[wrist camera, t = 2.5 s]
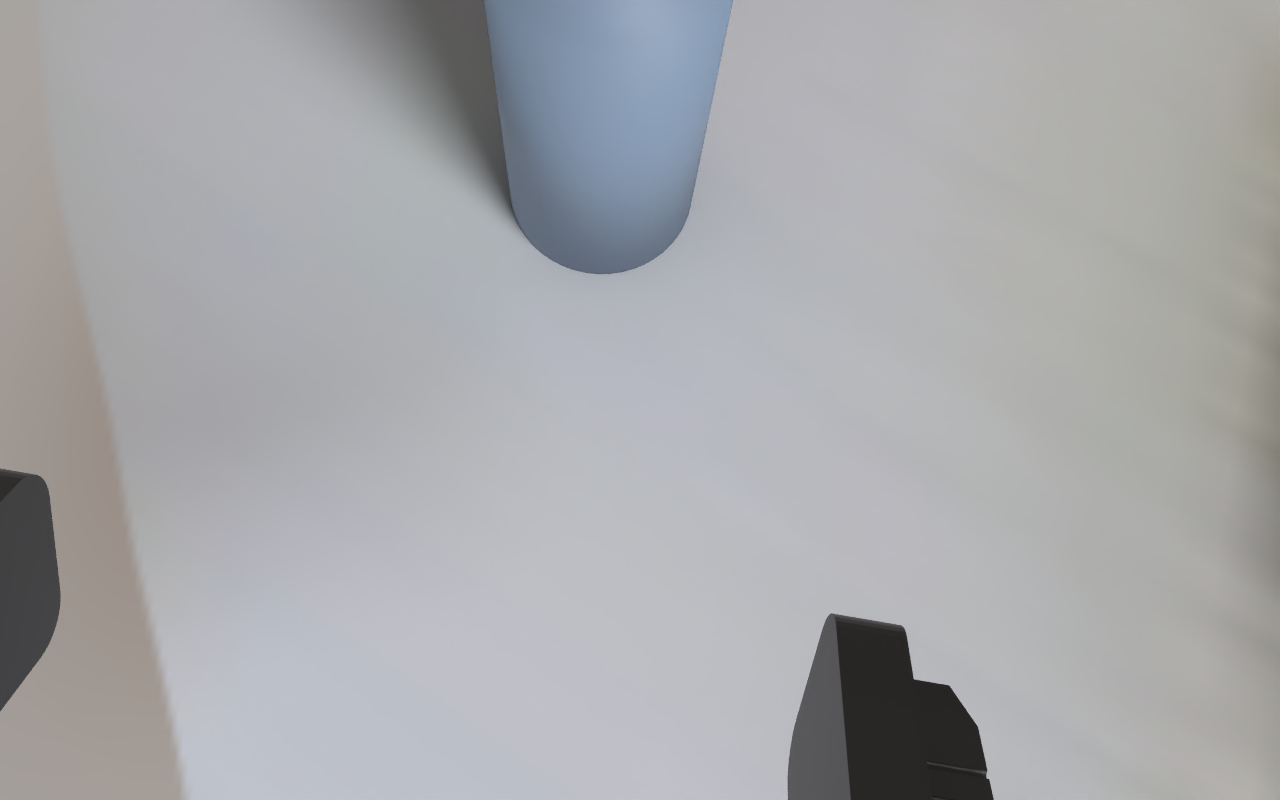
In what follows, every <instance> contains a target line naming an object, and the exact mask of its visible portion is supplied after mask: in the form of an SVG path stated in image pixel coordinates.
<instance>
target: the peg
mask: <svg viewBox="0 0 1280 800" xmlns="http://www.w3.org/2000/svg"><path fill="white" fill-rule="evenodd" d="M732 2H733V0H484V6H485V13H486V21H487V28H488V35H489V43H490V50H491V57H492V65H493V72H494V79H495V87H496V94H497V101H498V109H499V116H500V123H501V131H502V138H503V145H504V153H505V160H506V167H507V175H508V182H509V189H510V197H511V203H512V208H513V211H514V215H515V218H516V220H517V222H518V224H519V226H520V228H521V230H522V231H523V233H524V234H525V236H526V237H527V239H528V240H529V241H530V242H531V243H532V244H533V246H534V247H536V248H537V249H538V250H539V251H540V252H541V253H542V254H544V255H545V256H547V257H548V258H549V259H551V260H552V261H554V262H556V263H558V264H560V265H562V266H565V267H567V268H570V269H573V270H576V271H581V272H585V273H594V274H611V273H619V272H624V271H627V270H631V269H634V268H637V267H639V266H642V265H644V264H646V263H648V262H649V261H651V260H653V259H655V258H656V257H657V256H659V255H660V254H661V253H663V252H664V251H665V250H666V249H667V248H668V247H669V246H670V245H671V244H672V243H673V241H674V240H675V239H676V237H677V236H678V235H679V233H680V231H681V230H682V228H683V226H684V224H685V222H686V219H687V217H688V214H689V209H690V205H691V201H692V196H693V191H694V186H695V181H696V177H697V172H698V167H699V162H700V157H701V152H702V148H703V143H704V138H705V133H706V128H707V123H708V118H709V114H710V109H711V104H712V99H713V94H714V89H715V85H716V80H717V75H718V70H719V65H720V60H721V56H722V51H723V46H724V41H725V36H726V31H727V27H728V22H729V17H730V12H731V7H732Z"/></svg>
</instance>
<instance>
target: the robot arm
mask: <svg viewBox="0 0 1280 800" xmlns="http://www.w3.org/2000/svg"><path fill="white" fill-rule="evenodd" d="M59 609H60V585H59V576H58V567H57V558H56V550H55V541H54V532H53V523H52V514H51V505H50V497H49V491H48V488H47V485H46V483H45V481H44V480H43V479H42V478H41V477H40V476H38V475H34V474H28V473H22V472H16V471H11V470H5V469H0V711H1V710H2V708H3V707H4V706H5V704H6V703H7V701H8V700H9V699H10V698H11V696H12V695H13V693H14V692H15V691H16V690H17V688H18V687H19V686H20V684H21V683H22V682H23V680H24V679H25V678H26V676H27V675H28V674H29V672H30V671H31V670H32V668H33V667H34V666H35V664H36V663H37V662H38V660H39V659H40V658H41V656H42V654H43V653H44V652H45V650H46V648H47V646H48V645H49V642H50V640H51V638H52V636H53V633H54V630H55V627H56V623H57V620H58V615H59ZM986 774H987V767H986V762H985V758H984V753H983V748H982V744H981V739H980V734H979V730H978V726H977V725H976V724H975V722H974V721H973V719H972V718H971V716H970V715H969V713H968V712H967V711H966V709H965V708H964V706H963V705H962V703H961V702H960V701H959V699H958V698H957V696H956V695H955V693H954V692H953V690H952V689H951V688H950V686H949V685H943V684H937V683H931V682H925V681H920V680H914V679H913V672H912V666H911V660H910V654H909V647H908V641H907V636H906V632H905V629H904V628H903V626H901V625H896V624H890V623H884V622H878V621H872V620H867V619H861V618H855V617H849V616H843V615H837V614H832V613H831V614H830V615H829V616H828V617H827V619H826V621H825V624H824V626H823V630H822V633H821V636H820V640H819V643H818V647H817V650H816V654H815V657H814V660H813V664H812V667H811V671H810V674H809V678H808V681H807V685H806V688H805V691H804V695H803V698H802V702H801V705H800V709H799V712H798V716H797V719H796V723H795V727H794V731H793V737H792V742H791V749H790V757H789V767H788V800H994V799H993V795H992V790H991V785H990V781H989V779H987V778H986Z"/></svg>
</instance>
